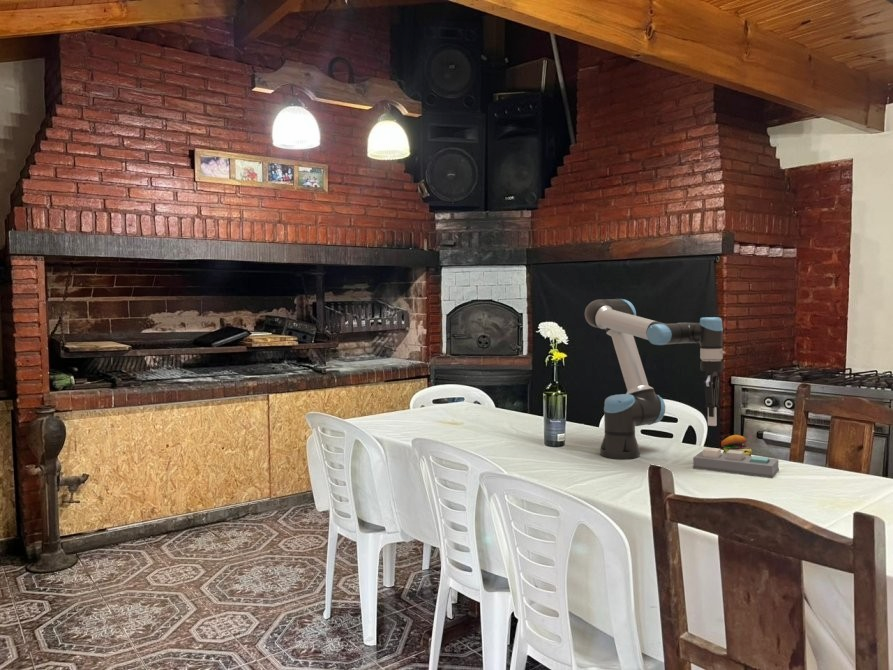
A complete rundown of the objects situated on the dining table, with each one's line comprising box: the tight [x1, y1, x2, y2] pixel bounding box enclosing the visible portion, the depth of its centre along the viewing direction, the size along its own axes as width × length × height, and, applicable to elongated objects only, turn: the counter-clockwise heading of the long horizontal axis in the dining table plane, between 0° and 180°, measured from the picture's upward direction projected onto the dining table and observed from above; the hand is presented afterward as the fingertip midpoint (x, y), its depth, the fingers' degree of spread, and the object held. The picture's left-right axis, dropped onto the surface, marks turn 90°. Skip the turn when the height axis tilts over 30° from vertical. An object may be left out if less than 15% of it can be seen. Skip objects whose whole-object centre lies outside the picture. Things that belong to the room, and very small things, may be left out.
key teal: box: [751, 455, 770, 464], centre depth 230 cm, size 5×5×4 cm
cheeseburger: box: [720, 434, 753, 456], centre depth 251 cm, size 10×11×10 cm
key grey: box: [726, 450, 744, 461], centre depth 234 cm, size 5×5×4 cm
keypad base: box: [692, 450, 780, 479], centre depth 234 cm, size 26×12×4 cm, turn 54°
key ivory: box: [702, 446, 722, 458], centre depth 239 cm, size 5×5×4 cm
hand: (712, 425), depth 238 cm, fingers closed
